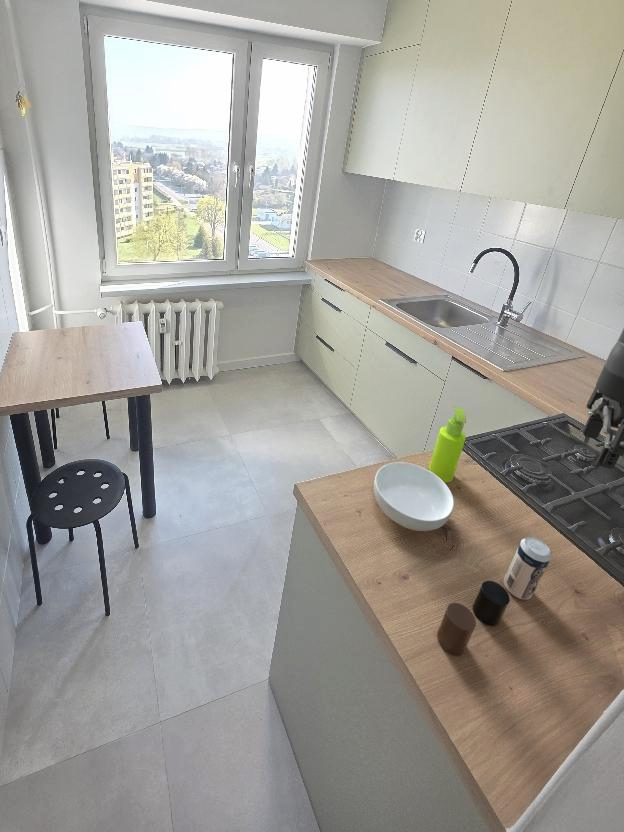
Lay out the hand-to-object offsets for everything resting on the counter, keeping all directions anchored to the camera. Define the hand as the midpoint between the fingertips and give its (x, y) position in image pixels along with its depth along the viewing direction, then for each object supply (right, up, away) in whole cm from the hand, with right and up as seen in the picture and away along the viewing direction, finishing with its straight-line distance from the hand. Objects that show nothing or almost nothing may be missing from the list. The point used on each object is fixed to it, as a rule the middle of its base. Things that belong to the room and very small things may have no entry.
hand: (596, 450), depth 73 cm
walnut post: (-27, -32, -2) cm, 42 cm away
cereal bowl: (-24, -22, +23) cm, 40 cm away
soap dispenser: (-11, -17, +34) cm, 40 cm away
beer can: (-9, -29, +7) cm, 32 cm away
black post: (-18, -31, +3) cm, 36 cm away
